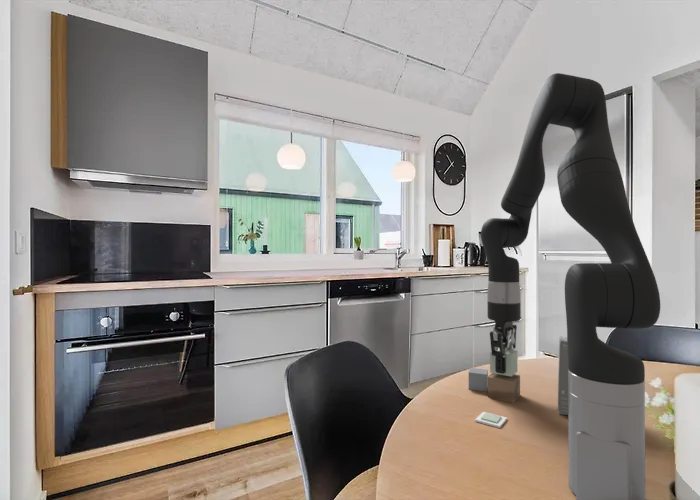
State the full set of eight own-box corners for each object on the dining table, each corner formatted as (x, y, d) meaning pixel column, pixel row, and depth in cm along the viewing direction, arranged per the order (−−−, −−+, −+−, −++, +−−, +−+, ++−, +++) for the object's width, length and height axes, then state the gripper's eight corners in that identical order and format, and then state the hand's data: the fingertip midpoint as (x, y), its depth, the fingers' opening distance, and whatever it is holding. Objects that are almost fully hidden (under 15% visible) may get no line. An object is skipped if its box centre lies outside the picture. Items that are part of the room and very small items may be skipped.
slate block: (486, 392, 97) (486, 374, 97) (468, 389, 99) (468, 372, 99) (488, 386, 101) (487, 369, 101) (470, 384, 103) (470, 367, 103)
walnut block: (514, 403, 90) (513, 381, 90) (487, 397, 94) (487, 376, 94) (520, 395, 95) (520, 375, 95) (495, 390, 99) (494, 370, 99)
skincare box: (558, 414, 83) (557, 340, 84) (557, 403, 90) (557, 334, 90) (604, 422, 80) (604, 345, 80) (601, 410, 86) (600, 338, 86)
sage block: (511, 376, 91) (511, 355, 91) (490, 372, 94) (490, 351, 94) (517, 371, 95) (517, 350, 95) (496, 367, 98) (496, 347, 98)
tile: (499, 428, 77) (499, 424, 77) (475, 421, 80) (475, 418, 80) (507, 419, 81) (507, 416, 81) (483, 413, 84) (483, 410, 84)
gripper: (511, 304, 87) (511, 380, 86) (527, 298, 98) (527, 366, 98) (478, 302, 91) (478, 374, 91) (497, 296, 103) (497, 361, 102)
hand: (504, 369), depth 94 cm, fingers closed on sage block, 5 cm apart
